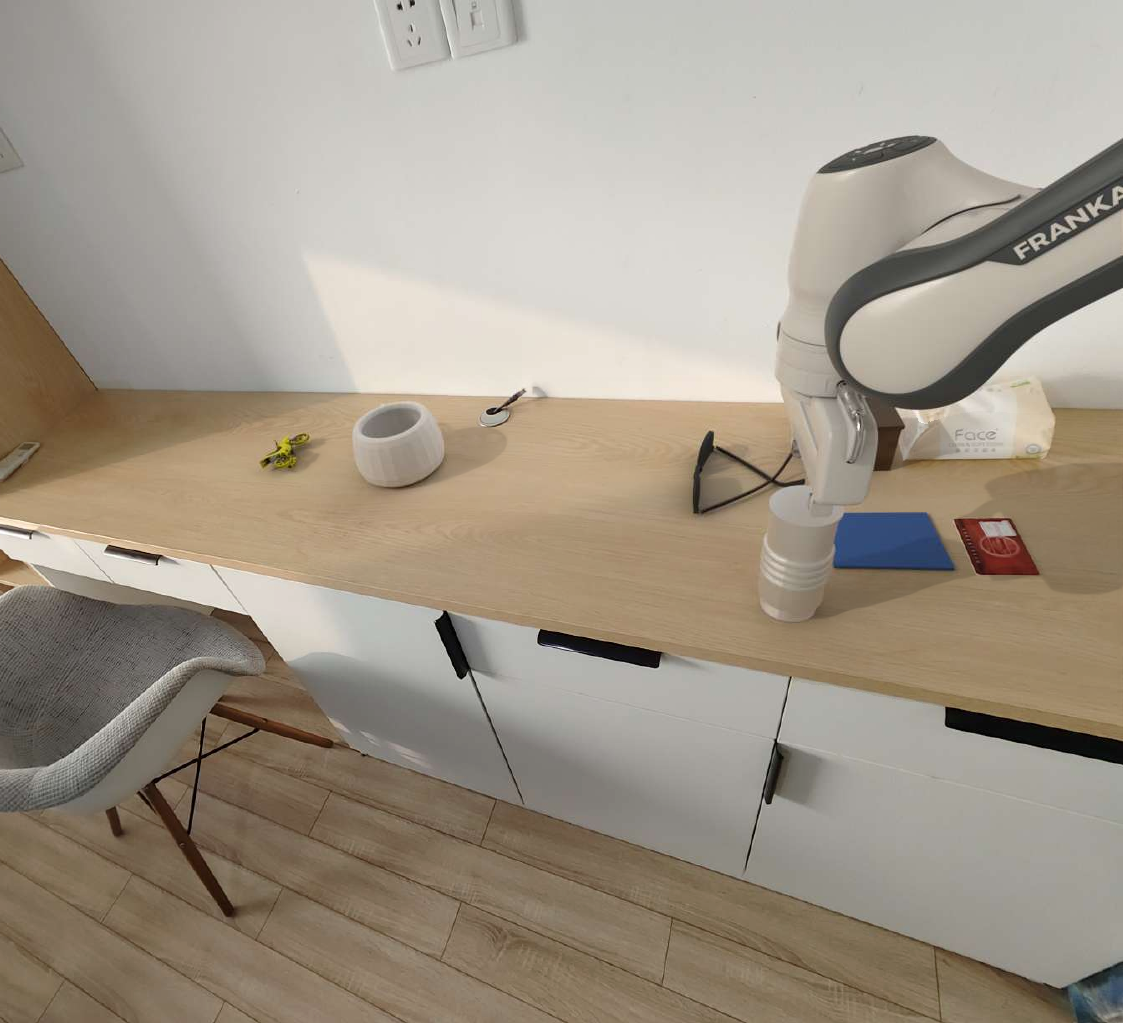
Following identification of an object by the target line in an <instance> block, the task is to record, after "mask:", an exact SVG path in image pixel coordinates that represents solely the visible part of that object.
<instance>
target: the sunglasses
mask: <svg viewBox="0 0 1123 1023" xmlns="http://www.w3.org/2000/svg"><path fill="white" fill-rule="evenodd" d="M714 440H715V432H714V431H713V430H709V431H708V432H706V434H705V436H704V438H703V440H702V442H701V445H700V447H699V451H698V455H697V462H696V465H694V466H695V467H694V472H693V476H692V480H693V483H692V484H693V486H692V514H696V515H699V514H700V515H703V514H706V513H708V512H711V511H714V510H717V509H719V508H722V507H723V506H727V505H729V504H732V503H733V502H737V501H739V500H741V499H743V498H745V497H748V496H749V495H752V494H754V493H756V492H758V491H760V490H762V489H763V488H766V487H767V486H768V485H769V484H774V485H775V486H777V487H779V488H786V487H789V486H797V485H805V484H806V479H805V478H800V479H796V480H792V481H788V482H781V481H778V480H776V479H777V478H778V477H779V476H780V475H781V473H782V472H783V471H784V469H785V468H786V466H787V465H788V464H789V462H790V461H791V459H792V458H793V455H792V452H791V451H790V452H789V454H788V455H787V457H786V458H785V460H784V462H783V464H781V467H779V469H778V470H777V472H776V473H775V474H774V475H773V476H772V477H771V476H769V475H768V474H767V473H766V472H764V471H762V470H760V469H759V468H757V467H756V466H754V465H752V464H751V463H750V462H748V461H746V460H745V459H743V458H741V457H739V456H737V455H736V454H734V453H732V452H731V451H728V450H727V449H725V448H722V447H721V446H720V445H714ZM714 450H715V451H718V452H720V453H722V454H723V455H725V456H726V457H729V458H731V459H733V461H736V462H737V463H740V464H741V465H743V466H745V467H747V468H748V469H750V470H751V471H753V472H754V473H756V474H758V475H759V476H761V477H762V478H764V479H765V480H767V481H765V482H764V483H762V484H760V485H758V486H756V487H754V488H751V489H749V490H747V491H745V492H743V493H741V494H738V495H736V496H734V497H731V498H728V499H726V500H724V501H721V502H718V503H715V504H713V505H711V506H708V507H707V506H706V507H705V508H703V509H701V508H700V507H699V505H700V496H701V487H702V486H701V483H702V482H701V474H702V472H703V470H704V469H703V467H704V466H705V464H706V462H707V461H708V459H709V457H710V455H711V453H712V452H714Z"/></svg>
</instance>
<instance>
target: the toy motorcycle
mask: <svg viewBox="0 0 1123 1023" xmlns="http://www.w3.org/2000/svg"><path fill="white" fill-rule="evenodd" d="M310 439H311V438H310V434H309V433H306V432H301V433H298V434H296V435H295V436H293V437H292V438H291V439H290V437H289V436H284V437H283V438H282V439H281V441H279V442H277V440H276V439H274V442H275V447H276V450H275V451H273V452H271V453H268V454H266V455H265V456H264V457H263V458H262V459H261V460H260V461H259V465H260V466H261V468H262V469H265V468H266V467H267V466H269V465H270V464H271V465H274V467H275V468H276V469H278V470H279V469H280V470H281V469H284V468H285V469H286V468H288V469H292V468H293V467H294V465H295V464H296V462H297V453H296V451H295V448H294V446H301V445H304V444H305V443H307V442H308V441H310Z"/></svg>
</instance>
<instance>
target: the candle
mask: <svg viewBox="0 0 1123 1023" xmlns="http://www.w3.org/2000/svg"><path fill="white" fill-rule="evenodd" d="M809 493H812V490H811V487H810V485H805V484H804V485H797V486H789V487H781V488H780V489H778V490H776V491H775V492H774V493H773V494H771V496H770V499H769V501H768V510H769V519H768V526H767V531H766V532H765V533H764V536H763V539H762V546H761V553H760V560H759V571H760V572H759V577H758V581H757V584H756V591H757V594H758V596H759V598H758V602H759V605H760V608H761V610H763V611H764V612H765V613H766V614H767V615H768V616H770V617H772V618H774V619H776V620H778V621H781V622H785V623H801V622H805V621H807V620H809V619H811V618H812V617H813V616H814V615H815V614H816V612H817V608H818V607H819V606H820V605H821V604H822V603H823V600H824V596H825V588H826V587H825V586H826V584H827V583H828V581H829V579H830V575H831V570H832V568H833V567H832V565H833V557H834V554H835V545H834V539H835V535H836V531H837V527H838V523H839V521H840V520H841V519H842V517H843V514H844V513H845V506H833V510H832V514H831V515H830V516H828V517H812V516H811V515H810V513H809V509H808V506H807V502H808V497H809Z"/></svg>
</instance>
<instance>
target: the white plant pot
mask: <svg viewBox="0 0 1123 1023" xmlns="http://www.w3.org/2000/svg"><path fill="white" fill-rule="evenodd" d="M351 441H352V443H351V444H352V452H353V456H354V457H353V458H354V461H355V465H356V468H357V469H358V472H359V473H360V475H361V476H362V477H363V479H364V480H365V481H367V482H368V483H369V484H372V485H375V486H377V487H382V488H400V487H401V488H402V487H406V486H409V485H413V484H415V483H417V482H419V481H422V480H424V479H425V478H427V477H428V476H430V475H431V474H432V473H433V472H435V471H436V470H437V469H438V468H439V466H440V465H441V463H442V462H443V460H444V457H445V453H446V447H445V446H446V445H445V441H444V437H443V434H442V431H441V428H440V426H439V424H438V422H437V420H436V418H435V416H434V415H433V413H432V412H431V411H430V410H429V409H428V408H427V406H425V405H424V404H422V403H420V402H417V401H411V400H402V401H401V400H400V401H394V402H393V401H392V402H390V403H385V402H381V403H380V404H379V406H377V407H375V408H373V409H370V410H369V411H368V412H366V413H365V414H363V415H362V416H361V417H360V418H359V419H357V421H356V422H355V423H354V426H353V429H352V433H351Z"/></svg>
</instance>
